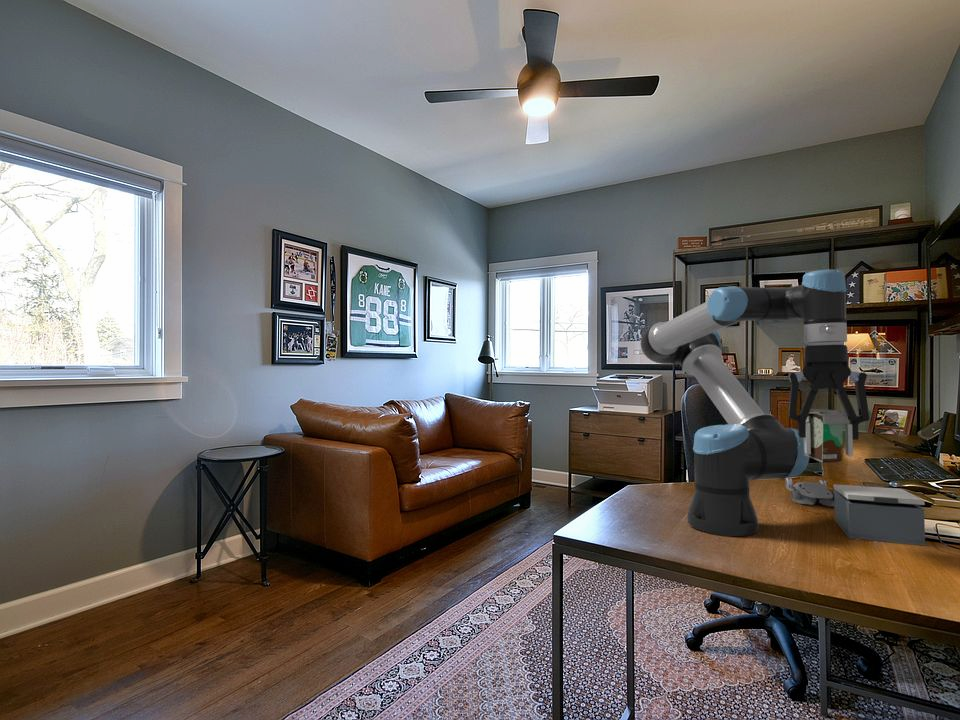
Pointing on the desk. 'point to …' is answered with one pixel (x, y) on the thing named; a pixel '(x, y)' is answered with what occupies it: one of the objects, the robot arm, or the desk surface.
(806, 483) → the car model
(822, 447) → the food container
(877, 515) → the storage box
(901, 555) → the desk surface
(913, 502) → the box lid
